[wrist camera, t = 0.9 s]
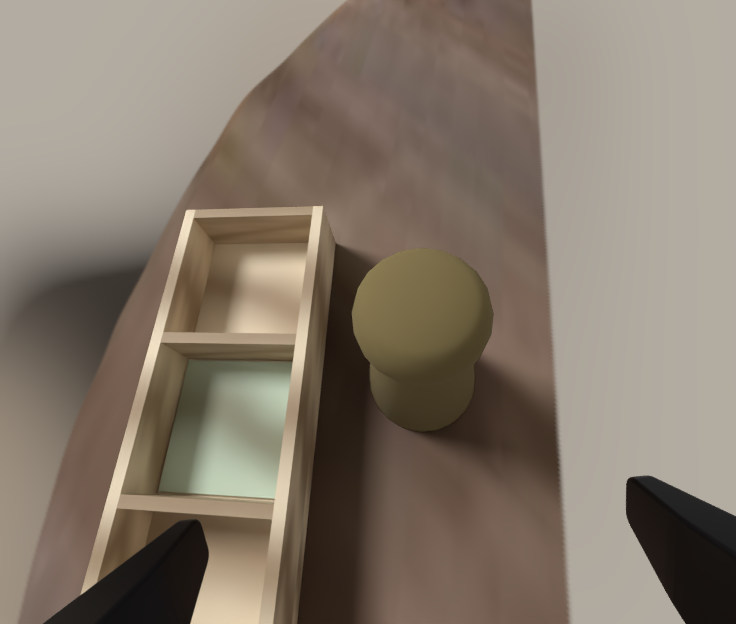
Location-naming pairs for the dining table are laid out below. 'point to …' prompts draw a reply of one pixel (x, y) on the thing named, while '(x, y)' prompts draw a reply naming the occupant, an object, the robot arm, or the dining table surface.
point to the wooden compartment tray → (230, 410)
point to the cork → (422, 335)
